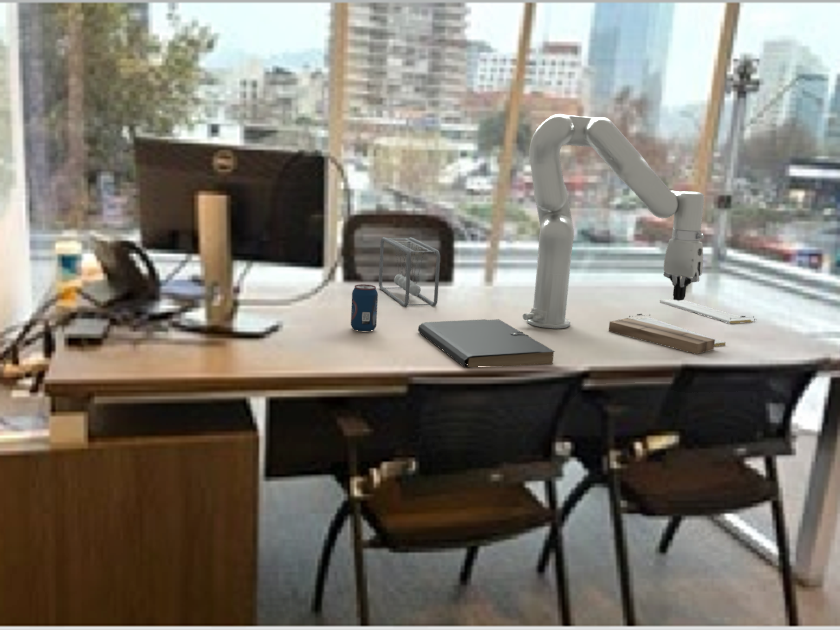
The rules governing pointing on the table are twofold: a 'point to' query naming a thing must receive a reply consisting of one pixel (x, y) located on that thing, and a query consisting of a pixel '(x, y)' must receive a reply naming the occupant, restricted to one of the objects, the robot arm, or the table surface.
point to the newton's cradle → (405, 280)
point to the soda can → (364, 307)
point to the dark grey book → (486, 343)
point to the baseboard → (675, 328)
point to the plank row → (662, 335)
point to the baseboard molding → (706, 311)
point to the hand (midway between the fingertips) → (678, 299)
